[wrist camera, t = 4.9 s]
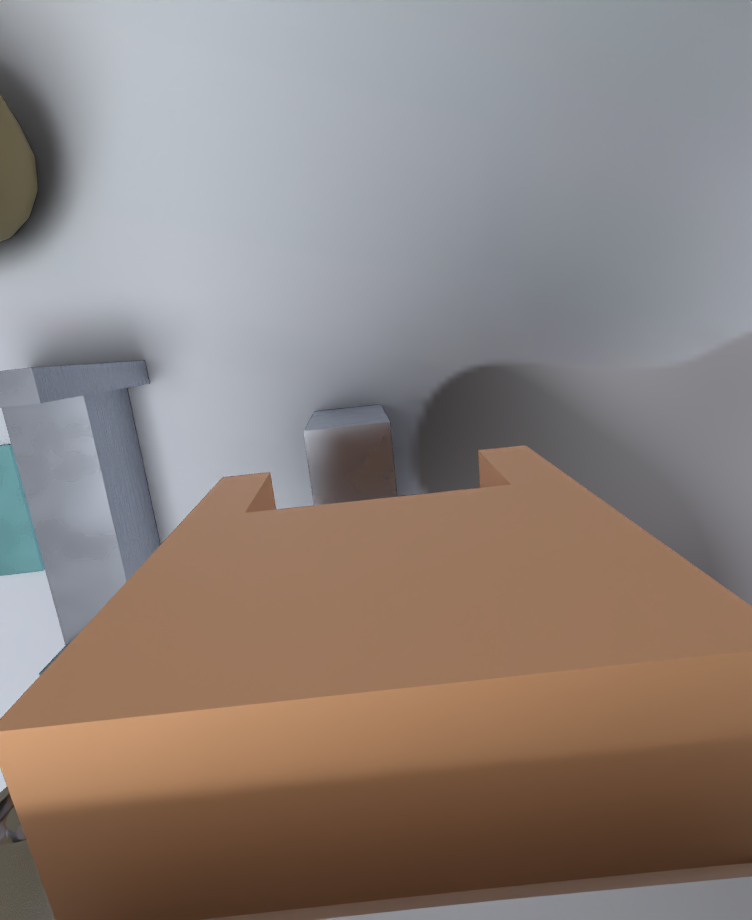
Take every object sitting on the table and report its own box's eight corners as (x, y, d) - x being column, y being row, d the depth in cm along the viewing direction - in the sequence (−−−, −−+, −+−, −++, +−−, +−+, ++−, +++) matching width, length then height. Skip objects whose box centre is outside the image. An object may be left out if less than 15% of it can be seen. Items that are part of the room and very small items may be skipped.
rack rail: (144, 360, 22) (31, 367, 14) (223, 748, 26) (169, 917, 19) (-78, 384, 22) (-319, 404, 14) (39, 771, 26) (-94, 953, 18)
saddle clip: (525, 445, 11) (806, 644, 4) (532, 720, 12) (734, 1181, 6) (222, 477, 11) (-12, 733, 4) (273, 749, 12) (172, 1240, 6)
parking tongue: (380, 404, 23) (389, 421, 17) (396, 567, 25) (410, 628, 19) (314, 411, 23) (303, 431, 17) (335, 574, 24) (331, 638, 19)
